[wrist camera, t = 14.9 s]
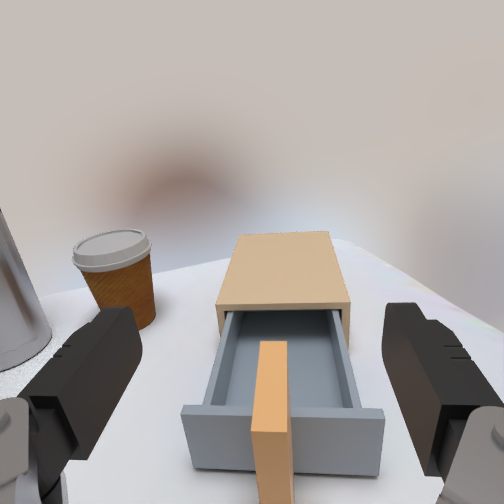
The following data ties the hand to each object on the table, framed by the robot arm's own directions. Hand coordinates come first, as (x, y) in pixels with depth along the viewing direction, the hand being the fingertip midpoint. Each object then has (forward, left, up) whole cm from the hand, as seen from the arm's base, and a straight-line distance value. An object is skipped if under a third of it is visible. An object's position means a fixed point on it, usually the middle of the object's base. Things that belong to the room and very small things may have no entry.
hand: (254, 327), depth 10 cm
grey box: (-7, +12, -19) cm, 24 cm away
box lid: (-15, +26, -20) cm, 36 cm away
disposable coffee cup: (-32, +13, -20) cm, 40 cm away
